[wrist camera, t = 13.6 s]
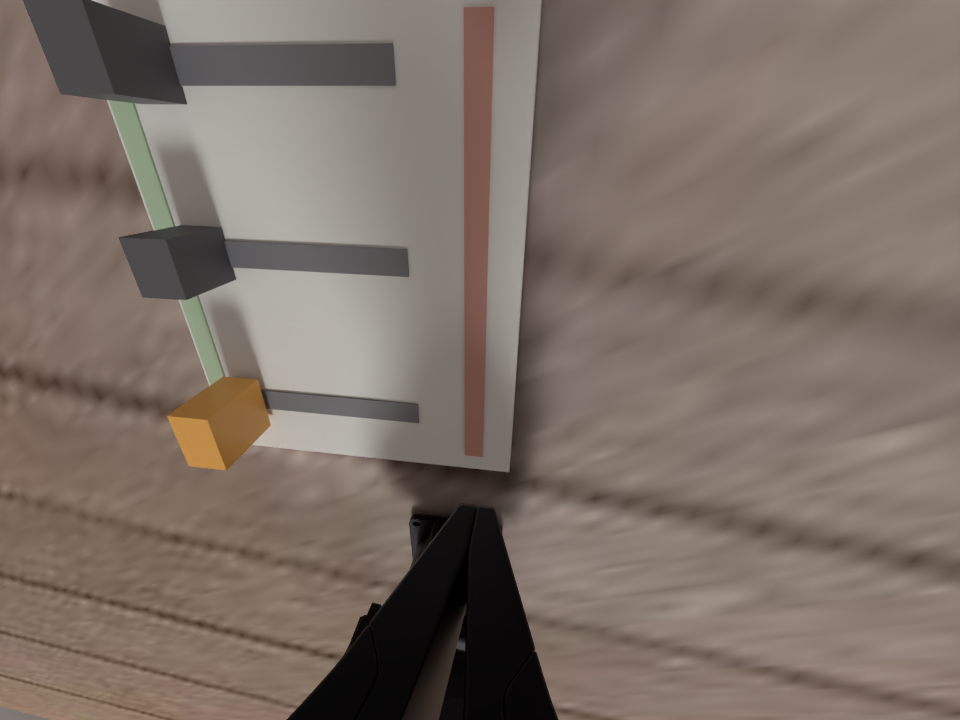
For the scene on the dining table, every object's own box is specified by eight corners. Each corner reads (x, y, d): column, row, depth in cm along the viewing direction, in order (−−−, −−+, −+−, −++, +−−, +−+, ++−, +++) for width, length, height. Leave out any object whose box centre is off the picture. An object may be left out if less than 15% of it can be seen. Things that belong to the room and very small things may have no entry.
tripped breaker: (271, 425, 22) (226, 470, 19) (238, 421, 22) (188, 466, 19) (257, 379, 21) (207, 420, 18) (223, 376, 21) (167, 416, 18)
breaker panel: (511, 448, 24) (505, 515, 19) (251, 422, 26) (191, 478, 21) (542, -12, 14) (544, -88, 10) (116, 0, 16) (-46, -60, 11)
